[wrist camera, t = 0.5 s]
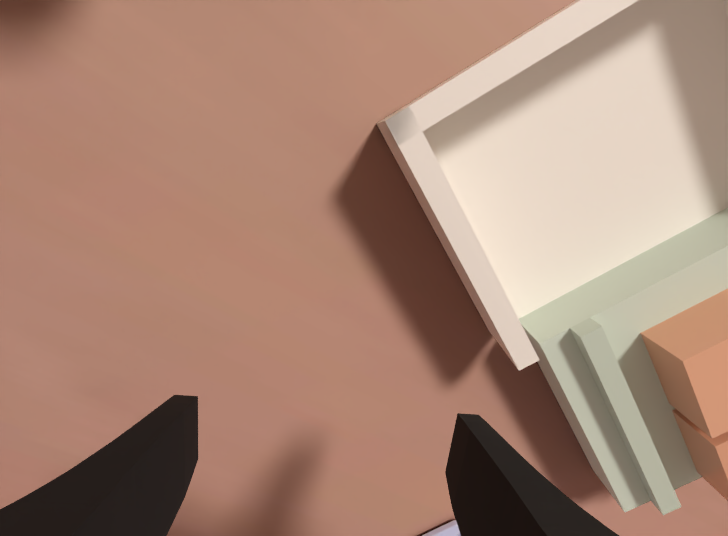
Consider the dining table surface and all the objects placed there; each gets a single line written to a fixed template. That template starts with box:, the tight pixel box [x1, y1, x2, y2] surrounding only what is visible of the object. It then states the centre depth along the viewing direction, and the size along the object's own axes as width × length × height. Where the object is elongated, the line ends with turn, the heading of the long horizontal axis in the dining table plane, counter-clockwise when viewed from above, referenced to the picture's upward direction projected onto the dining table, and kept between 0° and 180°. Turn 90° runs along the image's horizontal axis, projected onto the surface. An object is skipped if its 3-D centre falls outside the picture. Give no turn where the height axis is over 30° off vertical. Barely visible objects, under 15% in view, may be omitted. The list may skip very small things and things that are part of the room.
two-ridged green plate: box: [519, 208, 728, 515], centre depth 21 cm, size 12×13×4 cm
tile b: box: [640, 289, 728, 439], centre depth 18 cm, size 4×4×2 cm
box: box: [376, 0, 728, 371], centre depth 18 cm, size 12×16×4 cm
